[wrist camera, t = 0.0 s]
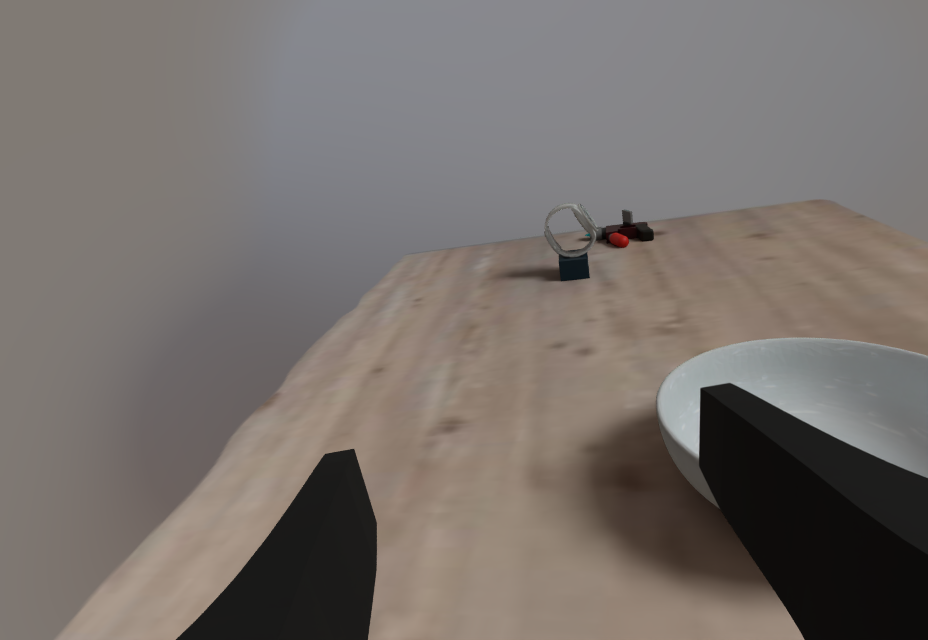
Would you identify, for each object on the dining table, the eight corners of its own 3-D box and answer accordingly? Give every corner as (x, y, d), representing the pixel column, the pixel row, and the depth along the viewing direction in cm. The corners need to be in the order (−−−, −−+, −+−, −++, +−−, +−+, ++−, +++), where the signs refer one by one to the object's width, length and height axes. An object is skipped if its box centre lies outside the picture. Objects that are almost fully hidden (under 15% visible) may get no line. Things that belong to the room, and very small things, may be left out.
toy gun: (585, 239, 111) (582, 214, 109) (651, 232, 108) (650, 206, 106) (583, 254, 102) (580, 226, 100) (655, 247, 99) (653, 218, 97)
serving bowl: (1144, 586, 30) (1180, 475, 27) (730, 637, 31) (730, 535, 29) (875, 392, 49) (883, 317, 47) (627, 428, 51) (622, 357, 48)
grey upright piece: (602, 276, 88) (596, 204, 84) (549, 282, 90) (540, 211, 86) (600, 265, 93) (595, 197, 89) (550, 271, 95) (542, 204, 91)
